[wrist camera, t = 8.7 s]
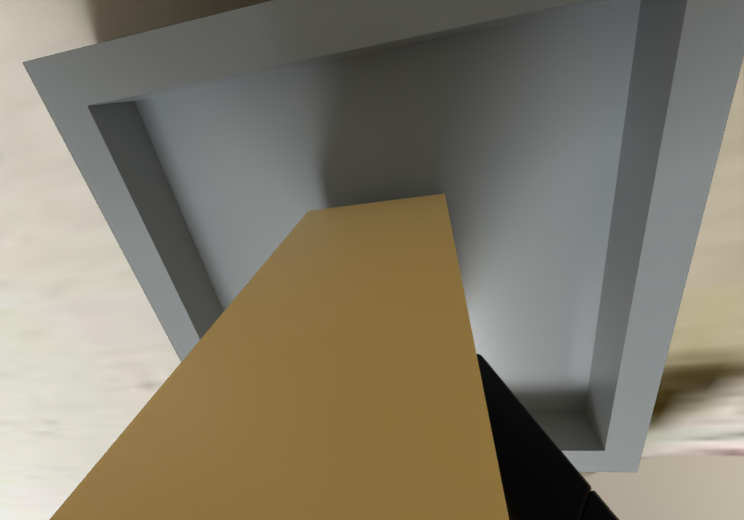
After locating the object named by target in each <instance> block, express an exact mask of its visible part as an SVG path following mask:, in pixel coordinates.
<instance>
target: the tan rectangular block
mask: <svg viewBox="0 0 744 520" xmlns="http://www.w3.org/2000/svg"><path fill="white" fill-rule="evenodd" d="M50 520H509V516H508V511H507V506H506V501H505V496H504V491H503V486H502V481H501V476H500V471H499V466H498V461H497V455H496V450H495V445H494V440H493V435H492V430H491V425H490V420H489V415H488V410H487V405H486V400H485V395H484V390H483V384H482V379H481V374H480V369H479V364H478V359H477V354H476V349H475V344H474V339H473V334H472V329H471V324H470V319H469V314H468V308H467V303H466V298H465V293H464V288H463V283H462V278H461V273H460V268H459V263H458V258H457V253H456V248H455V243H454V238H453V232H452V227H451V222H450V217H449V212H448V207H447V202H446V197H445V193H444V194H436V195H428V196H421V197H413V198H405V199H397V200H389V201H381V202H373V203H366V204H358V205H350V206H342V207H334V208H326V209H318V210H311V211H308V212H307V213H306V214H305V215H304V217H303V218H302V219H301V220H300V221H299V222H298V224H297V225H296V226H295V227H294V228H293V230H292V231H291V232H290V233H289V234H288V236H287V237H286V238H285V239H284V240H283V242H282V243H281V244H280V245H279V246H278V248H277V249H276V250H275V251H274V252H273V254H272V255H271V256H270V257H269V258H268V260H267V261H266V262H265V263H264V264H263V265H262V267H261V268H260V269H259V270H258V271H257V273H256V274H255V275H254V276H253V277H252V279H251V280H250V281H249V282H248V283H247V285H246V286H245V287H244V288H243V289H242V291H241V292H240V293H239V294H238V295H237V297H236V298H235V299H234V300H233V301H232V303H231V304H230V305H229V306H228V307H227V308H226V310H225V311H224V312H223V313H222V314H221V316H220V317H219V318H218V319H217V320H216V322H215V323H214V324H213V325H212V326H211V328H210V329H209V330H208V331H207V332H206V334H205V335H204V336H203V337H202V338H201V340H200V341H199V342H198V343H197V344H196V345H195V347H194V348H193V349H192V350H191V351H190V353H189V354H188V355H187V356H186V357H185V359H184V360H183V361H182V362H181V363H180V365H179V366H178V367H177V368H176V369H175V371H174V372H173V373H172V374H171V375H170V377H169V378H168V379H167V380H166V381H165V383H164V384H163V385H162V386H161V387H160V388H159V390H158V391H157V392H156V393H155V394H154V396H153V397H152V398H151V399H150V400H149V402H148V403H147V404H146V405H145V406H144V408H143V409H142V410H141V411H140V412H139V414H138V415H137V416H136V417H135V418H134V420H133V421H132V422H131V423H130V424H129V425H128V427H127V428H126V429H125V430H124V431H123V433H122V434H121V435H120V436H119V437H118V439H117V440H116V441H115V442H114V443H113V445H112V446H111V447H110V448H109V449H108V451H107V452H106V453H105V454H104V455H103V457H102V458H101V459H100V460H99V461H98V463H97V464H96V465H95V466H94V467H93V468H92V470H91V471H90V472H89V473H88V474H87V476H86V477H85V478H84V479H83V480H82V482H81V483H80V484H79V485H78V486H77V488H76V489H75V490H74V491H73V492H72V494H71V495H70V496H69V497H68V498H67V500H66V501H65V502H64V503H63V504H62V506H61V507H60V508H59V509H58V510H57V511H56V513H55V514H54V515H53V516H52V517H51V519H50Z"/></svg>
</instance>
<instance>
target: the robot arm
mask: <svg viewBox="0 0 744 520" xmlns="http://www.w3.org/2000/svg"><path fill="white" fill-rule="evenodd" d="M477 359H478V364H479V369H480V374H481V379H482V384H483V390H484V395H485V400H486V405H487V410H488V415H489V420H490V425H491V430H492V435H493V440H494V445H495V450H496V455H497V461H498V466H499V471H500V476H501V481H502V486H503V491H504V496H505V501H506V506H507V511H508V516H509V520H619V519H618V518H617V517H616V515H615V514H614V513H613V512H612V511H611V510H610V508H609V507H608V506H607V505H606V503H605V502H604V501H603V500H602V499H601V498H600V496H599V495H598V494H597V493H596V492H595V491H591V486H590V485H589V483H588V482H587V481H586V480H585V479H584V477H583V476H582V475H581V474H580V473H579V471H578V470H577V469H576V468H575V467H574V465H573V464H572V463H571V462H570V461H569V459H568V458H567V457H566V456H565V455H564V453H563V452H562V451H561V450H560V449H559V447H558V446H557V445H556V444H555V443H554V441H553V440H552V439H551V438H550V437H549V435H548V434H547V433H546V432H545V431H544V429H543V428H542V427H541V426H540V425H539V423H538V422H537V421H536V420H535V419H534V417H533V416H532V415H531V414H530V413H529V411H528V410H527V409H526V408H525V407H524V405H523V404H522V403H521V402H520V401H519V399H518V398H517V397H516V396H515V395H514V393H513V392H512V391H511V390H510V389H509V387H508V386H507V385H506V384H505V383H504V381H503V380H502V379H501V378H500V377H499V375H498V374H497V373H496V372H495V371H494V369H493V368H492V367H491V366H490V365H489V363H488V362H487V361H486V360H485V359H484V357H483V356H482V355H480V354H477Z"/></svg>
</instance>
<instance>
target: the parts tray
mask: <svg viewBox="0 0 744 520" xmlns="http://www.w3.org/2000/svg"><path fill="white" fill-rule="evenodd" d="M743 56H744V0H271V1H267V2H263V3H259V4H255V5H251V6H247V7H243V8H239V9H235V10H231V11H227V12H223V13H219V14H215V15H211V16H207V17H203V18H199V19H195V20H191V21H187V22H183V23H179V24H175V25H171V26H166V27H162V28H158V29H154V30H150V31H146V32H142V33H138V34H134V35H130V36H126V37H122V38H118V39H114V40H110V41H106V42H102V43H98V44H94V45H90V46H86V47H82V48H78V49H74V50H70V51H66V52H62V53H58V54H54V55H50V56H46V57H41V58H37V59H33V60H29V61H25V62H22V63H23V65H24V67H25V68H26V70H27V72H28V74H29V76H30V78H31V80H32V82H33V84H34V85H35V87H36V89H37V91H38V93H39V95H40V97H41V99H42V101H43V102H44V104H45V106H46V108H47V110H48V112H49V114H50V116H51V117H52V119H53V121H54V123H55V125H56V127H57V129H58V131H59V133H60V134H61V136H62V138H63V140H64V142H65V144H66V146H67V148H68V150H69V151H70V153H71V155H72V157H73V159H74V161H75V163H76V165H77V166H78V168H79V170H80V172H81V174H82V176H83V178H84V180H85V182H86V183H87V185H88V187H89V189H90V191H91V193H92V195H93V197H94V199H95V200H96V202H97V204H98V206H99V208H100V210H101V212H102V214H103V215H104V217H105V219H106V221H107V223H108V225H109V227H110V229H111V231H112V232H113V234H114V236H115V238H116V240H117V242H118V244H119V246H120V247H121V249H122V251H123V253H124V255H125V257H126V259H127V261H128V263H129V264H130V266H131V268H132V270H133V272H134V274H135V276H136V278H137V280H138V281H139V283H140V285H141V287H142V289H143V291H144V293H145V295H146V296H147V298H148V300H149V302H150V304H151V306H152V308H153V310H154V312H155V313H156V315H157V317H158V319H159V321H160V323H161V325H162V327H163V329H164V330H165V332H166V334H167V336H168V338H169V340H170V342H171V344H172V345H173V347H174V349H175V351H176V353H177V355H178V357H179V359H180V361H181V362H182V361H183V360H184V359H185V357H186V356H187V355H188V354H189V353H190V351H191V350H192V349H193V348H194V347H195V345H196V344H197V343H198V342H199V341H200V340H201V338H202V337H203V336H204V335H205V334H206V332H207V331H208V330H209V329H210V328H211V326H212V325H213V324H214V323H215V322H216V320H217V319H218V318H219V317H220V316H221V314H222V313H223V312H224V311H225V310H226V308H227V307H228V306H229V305H230V304H231V303H232V301H233V300H234V299H235V298H236V297H237V295H238V294H239V293H240V292H241V291H242V289H243V288H244V287H245V286H246V285H247V283H248V282H249V281H250V280H251V279H252V277H253V276H254V275H255V274H256V273H257V271H258V270H259V269H260V268H261V267H262V265H263V264H264V263H265V262H266V261H267V260H268V258H269V257H270V256H271V255H272V254H273V252H274V251H275V250H276V249H277V248H278V246H279V245H280V244H281V243H282V242H283V240H284V239H285V238H286V237H287V236H288V234H289V233H290V232H291V231H292V230H293V228H294V227H295V226H296V225H297V224H298V222H299V221H300V220H301V219H302V218H303V217H304V215H305V214H306V213H307V212H308V211H311V210H318V209H326V208H334V207H342V206H350V205H358V204H366V203H373V202H381V201H389V200H397V199H405V198H413V197H421V196H428V195H436V194H444V193H445V197H446V202H447V207H448V212H449V217H450V222H451V227H452V232H453V238H454V243H455V248H456V253H457V258H458V263H459V268H460V273H461V278H462V283H463V288H464V293H465V298H466V303H467V308H468V314H469V319H470V324H471V329H472V334H473V339H474V344H475V349H476V354H480V355H482V356H483V357H484V359H485V360H486V361H487V362H488V363H489V365H490V366H491V367H492V368H493V369H494V371H495V372H496V373H497V374H498V375H499V377H500V378H501V379H502V380H503V381H504V383H505V384H506V385H507V386H508V387H509V389H510V390H511V391H512V392H513V393H514V395H515V396H516V397H517V398H518V399H519V401H520V402H521V403H522V404H523V405H524V407H525V408H526V409H527V410H528V411H529V413H530V414H531V415H532V416H533V417H534V419H535V420H536V421H537V422H538V423H539V425H540V426H541V427H542V428H543V429H544V431H545V432H546V433H547V434H548V435H549V437H550V438H551V439H552V440H553V441H554V443H555V444H556V445H557V446H558V447H559V449H560V450H561V451H562V452H563V453H564V455H565V456H566V457H567V458H568V459H569V461H570V462H571V463H572V464H573V465H574V467H575V468H576V469H577V470H578V471H579V472H637V471H638V467H639V463H640V459H641V455H642V452H643V448H644V444H645V440H646V436H647V432H648V428H649V424H650V420H651V416H652V412H653V409H654V405H655V401H656V397H657V393H658V389H659V385H660V381H661V377H662V373H663V369H664V365H665V362H666V358H667V354H668V350H669V346H670V342H671V338H672V334H673V330H674V326H675V322H676V319H677V315H678V311H679V307H680V303H681V299H682V295H683V291H684V287H685V283H686V279H687V276H688V272H689V268H690V264H691V260H692V256H693V252H694V248H695V244H696V240H697V236H698V232H699V229H700V225H701V221H702V217H703V213H704V209H705V205H706V201H707V197H708V193H709V189H710V186H711V182H712V178H713V174H714V170H715V166H716V162H717V158H718V154H719V150H720V146H721V143H722V139H723V135H724V131H725V127H726V123H727V119H728V115H729V111H730V107H731V103H732V99H733V96H734V92H735V88H736V84H737V80H738V76H739V72H740V68H741V64H742V60H743Z"/></svg>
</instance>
